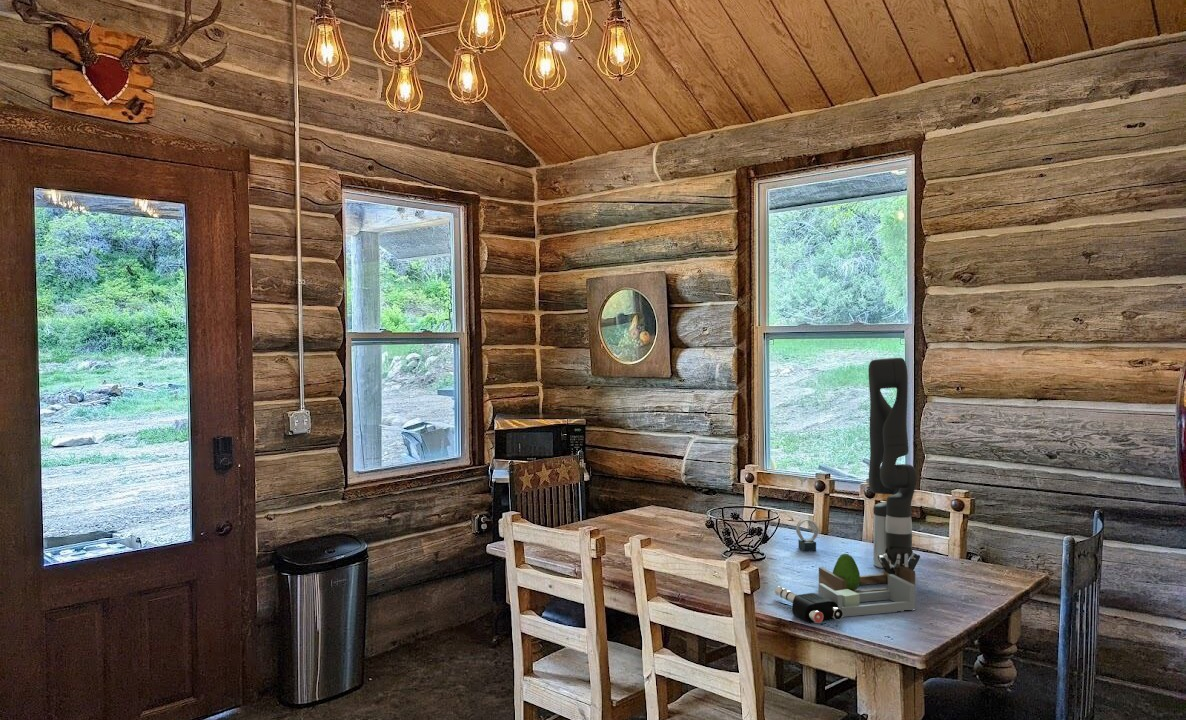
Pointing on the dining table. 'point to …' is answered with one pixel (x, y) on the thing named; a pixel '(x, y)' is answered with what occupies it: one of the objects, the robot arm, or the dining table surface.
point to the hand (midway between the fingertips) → (898, 586)
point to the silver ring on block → (807, 544)
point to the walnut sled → (863, 579)
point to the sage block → (849, 598)
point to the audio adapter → (811, 606)
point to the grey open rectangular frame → (877, 598)
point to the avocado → (847, 571)
